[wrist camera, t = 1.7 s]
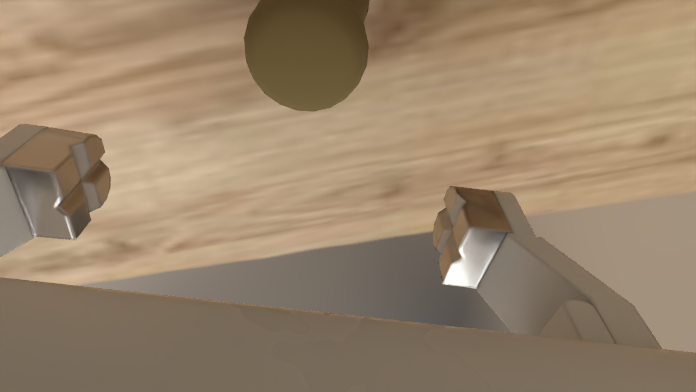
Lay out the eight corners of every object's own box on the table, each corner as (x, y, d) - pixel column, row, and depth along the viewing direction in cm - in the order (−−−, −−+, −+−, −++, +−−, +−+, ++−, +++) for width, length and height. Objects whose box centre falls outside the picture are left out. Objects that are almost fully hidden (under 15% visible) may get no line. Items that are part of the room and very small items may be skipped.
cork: (381, -45, 23) (400, 2, 15) (356, 58, 27) (360, 144, 18) (275, -73, 23) (229, -41, 14) (263, 37, 26) (221, 117, 18)
